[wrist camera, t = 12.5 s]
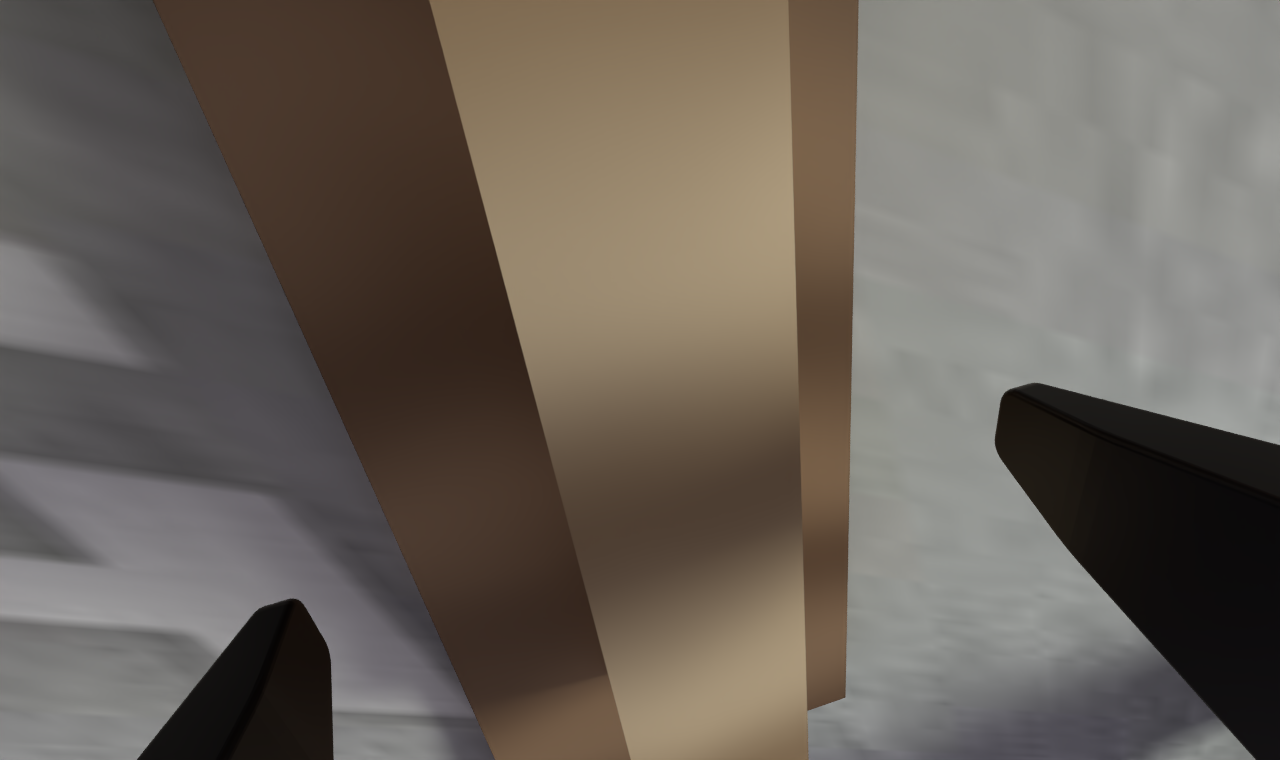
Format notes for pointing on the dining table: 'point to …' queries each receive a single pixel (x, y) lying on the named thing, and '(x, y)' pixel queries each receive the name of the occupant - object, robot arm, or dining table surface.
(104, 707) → the dining table surface
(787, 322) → the oak scraper
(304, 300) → the rest board
